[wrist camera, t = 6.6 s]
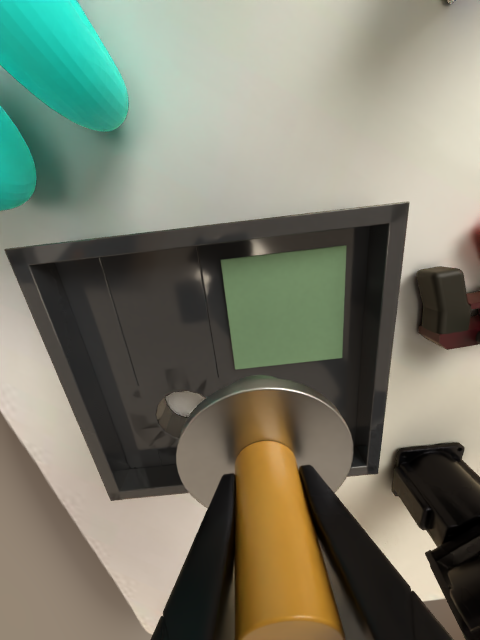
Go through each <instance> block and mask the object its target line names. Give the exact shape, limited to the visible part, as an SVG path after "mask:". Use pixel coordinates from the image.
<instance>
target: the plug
mask: <svg viewBox="0 0 480 640" xmlns="http://www.w3.org/2000/svg"><path fill="white" fill-rule="evenodd" d="M352 461H353V441H352V436H351V433H350V431H349V428H348V426H347V424H346V423H345V421H344V419H343V418H342V416H341V415H340V413H339V411H338V410H337V408H336V407H335V406H334V405H333V404H332V403H331V402H330V401H329V400H328V399H327V398H326V397H324V396H323V395H322V394H320V393H319V392H317V391H315V390H314V389H312V388H310V387H307V386H305V385H303V384H300V383H297V382H293V381H289V380H283V379H278V378H275V377H271V376H266V375H254V376H248V377H245V378H242V379H239V380H237V381H235V382H234V383H232V384H231V385H229V386H227V387H224V388H222V389H220V390H218V391H217V392H215V393H213V394H211V395H210V396H209V397H207V398H206V399H205V400H203V401H202V402H201V403H200V404H199V405H198V406H197V407H196V408H195V409H194V410H193V412H192V413H191V414H190V416H189V417H188V419H187V420H186V422H185V424H184V426H183V429H182V432H181V435H180V439H179V442H178V446H177V453H176V463H177V469H178V473H179V476H180V478H181V481H182V483H183V484H184V486H185V488H186V489H187V491H188V492H189V493H190V494H191V495H192V496H193V497H194V498H195V499H196V500H197V501H198V502H199V503H201V504H202V505H203V506H205V507H206V508H208V507H209V505H210V503H211V500H212V498H213V496H214V493H215V491H216V489H217V486H218V484H219V482H220V480H221V477H222V476H223V475H224V474H230V473H234V474H235V640H345V633H344V630H343V626H342V623H341V619H340V616H339V612H338V608H337V605H336V601H335V598H334V594H333V590H332V587H331V583H330V580H329V576H328V573H327V569H326V565H325V562H324V558H323V555H322V551H321V548H320V544H319V540H318V537H317V533H316V530H315V526H314V523H313V519H312V516H311V512H310V509H309V505H308V501H307V498H306V494H305V491H304V487H303V483H302V480H301V476H300V473H299V466H301V465H312V466H313V467H314V469H315V470H316V471H317V472H318V474H319V475H320V476H321V477H322V479H323V480H324V481H325V482H326V484H327V485H328V486H329V487H330V488H331V490H332V491H333V492H334V493H335V492H336V491H337V490H338V489H339V487H340V486H341V485H342V483H343V482H344V480H345V479H346V477H347V475H348V473H349V471H350V468H351V465H352Z"/></svg>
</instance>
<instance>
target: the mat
mask: <svg viewBox="0 0 480 640" xmlns="http://www.w3.org/2000/svg"><path fill="white" fill-rule="evenodd" d="M221 267H222V275H223V282H224V290H225V297H226V305H227V312H228V320H229V327H230V335H231V342H232V350H233V357H234V365H235V369H245V368H254V367H263V366H273V365H282V364H291V363H300V362H310V361H319V360H328V359H337V358H342V349H343V323H344V297H345V271H346V246H345V245H344V246H335V247H327V248H318V249H309V250H301V251H292V252H283V253H275V254H266V255H257V256H249V257H240V258H231V259H223V260H221Z"/></svg>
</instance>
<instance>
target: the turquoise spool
mask: <svg viewBox="0 0 480 640" xmlns="http://www.w3.org/2000/svg"><path fill="white" fill-rule="evenodd" d="M0 65H1V66H2V67H3V68H4V69H5V70H6V71H7V72H8V73H10V74H11V75H12V76H13V77H14V78H15V79H16V80H17V81H18V82H19V83H21V84H22V85H23V86H24V87H25V88H27V89H28V90H29V91H30V92H31V93H32V94H33V95H35V96H36V97H37V98H38V99H40V100H41V101H42V102H43V103H45V104H46V105H47V106H49V107H50V108H52V109H53V110H54V111H56V112H57V113H59V114H60V115H62V116H64V117H65V118H67V119H69V120H70V121H72V122H74V123H76V124H78V125H80V126H83V127H86V128H88V129H91V130H96V131H111V130H114V129H116V128H118V127H119V126H120V125H121V124H122V123H123V122H124V120H125V119H126V116H127V113H128V106H129V102H128V93H127V89H126V86H125V83H124V81H123V78H122V76H121V74H120V72H119V70H118V69H117V67H116V65H115V63H114V62H113V60H112V58H111V56H110V54H109V53H108V51H107V49H106V48H105V46H104V44H103V43H102V41H101V39H100V38H99V36H98V34H97V33H96V31H95V30H94V28H93V26H92V25H91V23H90V21H89V20H88V18H87V16H86V15H85V13H84V11H83V10H82V8H81V6H80V5H79V3H78V1H77V0H0ZM36 182H37V177H36V167H35V164H34V161H33V158H32V155H31V152H30V150H29V148H28V146H27V144H26V142H25V140H24V139H23V137H22V135H21V134H20V132H19V130H18V129H17V127H16V126H15V124H14V123H13V121H12V120H11V119H10V117H9V116H8V115H7V113H6V112H5V111H4V109H3V108H2V107H1V106H0V211H2V210H9V209H12V208H15V207H18V206H20V205H22V204H24V203H25V202H26V201H28V200H29V199H30V197H31V196H32V194H33V193H34V191H35V187H36Z"/></svg>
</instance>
